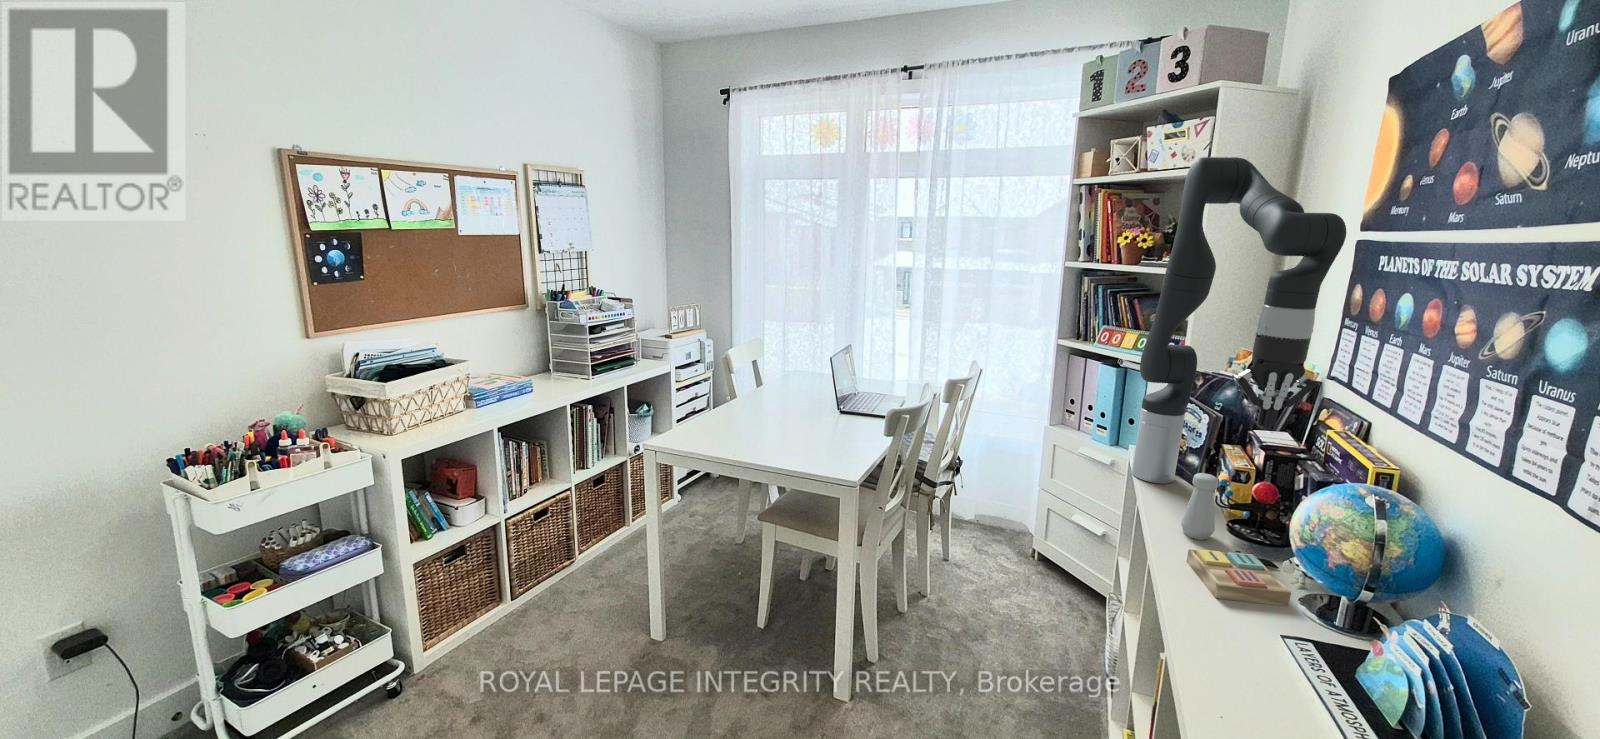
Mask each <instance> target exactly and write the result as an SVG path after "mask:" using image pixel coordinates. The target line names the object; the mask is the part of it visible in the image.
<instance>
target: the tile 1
mask: <svg viewBox="0 0 1600 739" xmlns="http://www.w3.org/2000/svg"><path fill="white" fill-rule="evenodd" d="M1195 550H1196V555H1197V556H1198V557H1199V558H1200V560H1201V561H1202V562H1203V563H1204V564H1205V565H1214V566H1225V567H1230V566H1231V563H1230V561H1229V560H1228V559H1227V558H1226V557H1225V556H1224V555H1223V554H1222V553H1221V552H1222V551H1219V550H1208V549H1198V548H1196V549H1195Z"/></svg>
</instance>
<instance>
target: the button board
mask: <svg viewBox="0 0 1600 739" xmlns="http://www.w3.org/2000/svg"><path fill="white" fill-rule="evenodd" d="M1196 550H1197V549H1190V548H1189V549H1188V550H1187V551H1188V552H1187V557H1186V563H1187V564H1188V565H1189V566H1190V568H1191V569H1192V570H1193V572H1194V573H1195V572H1196V573H1195V575H1197V576H1199V577H1200V578H1199V577H1198V578H1199V579H1200V580H1201V581H1203V582H1204V583H1203V582H1202V583H1203V584H1204V586H1206V588H1207V589H1208V590H1209V591H1210V592H1209V593H1211V595H1212V596H1213V597H1214V598H1215V599H1218V600H1228V601H1236V602H1247V603H1256V604H1257V603H1258V604H1267V605H1274V606H1275V605H1276V606H1285V607H1288V606H1289V604H1290V600H1291V597H1292V596H1291V595H1292V592H1291V591H1290V590H1289V589H1288V587H1286V586H1285V584H1283V583H1282V581H1280V580H1279V578H1278V577H1276V576H1275V575H1274V573H1272V572H1271V571H1270V569H1268V568H1267V566H1265V565H1264V564H1263V562H1261V561H1260V560H1259V559H1258V558H1257V556H1256V555H1254V554H1252V555H1253V556H1254V557H1255V558H1256V559H1257V560H1258V561H1259V562H1260V563H1261V564H1262V565H1263V566H1264V567H1263V570H1256V569H1245V568H1237V567H1236V566H1235V565H1234V564H1233V563H1232V562H1231V561H1230V560H1229V559H1228V557H1227V553H1228V552H1222V551H1220V552H1221V553H1222V554H1223V555H1224V556H1225V557H1226V558H1227V559H1228V560H1229V561H1230V563H1231V566H1230V567H1225V566H1214V565H1205V564H1204V563H1203V562H1202V561H1201V560H1200V558H1199V557H1198V556H1197V555H1196ZM1228 568H1229V569H1240V570H1250V571H1254V572H1255V573H1256V574H1257V575H1258V576H1259V577H1260V579H1261V580H1262V581H1263V582H1264V583H1265V588H1259V587H1249V586H1239V585H1237V584H1236V583H1235V582H1234V581H1233V580H1232V579H1231V577H1230V576H1229V575H1228V574H1227V570H1228Z"/></svg>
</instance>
